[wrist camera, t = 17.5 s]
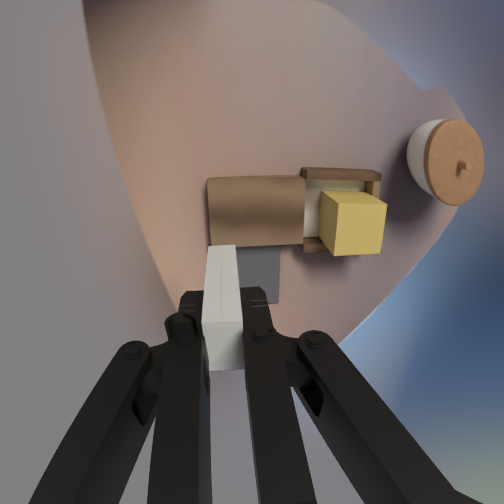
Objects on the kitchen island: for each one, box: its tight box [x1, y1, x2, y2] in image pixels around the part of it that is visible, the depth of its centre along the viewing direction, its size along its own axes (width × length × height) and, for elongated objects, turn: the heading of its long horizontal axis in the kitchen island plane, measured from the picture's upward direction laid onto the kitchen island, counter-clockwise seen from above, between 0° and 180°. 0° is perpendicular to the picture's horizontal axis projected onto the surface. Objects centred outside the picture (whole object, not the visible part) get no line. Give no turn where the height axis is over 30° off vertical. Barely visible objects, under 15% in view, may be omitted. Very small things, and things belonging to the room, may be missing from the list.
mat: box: [209, 245, 280, 303], centre depth 38 cm, size 9×9×1 cm
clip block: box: [318, 190, 387, 256], centre depth 33 cm, size 6×6×6 cm
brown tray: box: [207, 167, 381, 253], centre depth 34 cm, size 10×20×2 cm, turn 91°
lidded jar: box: [407, 119, 484, 206], centre depth 29 cm, size 11×11×9 cm
